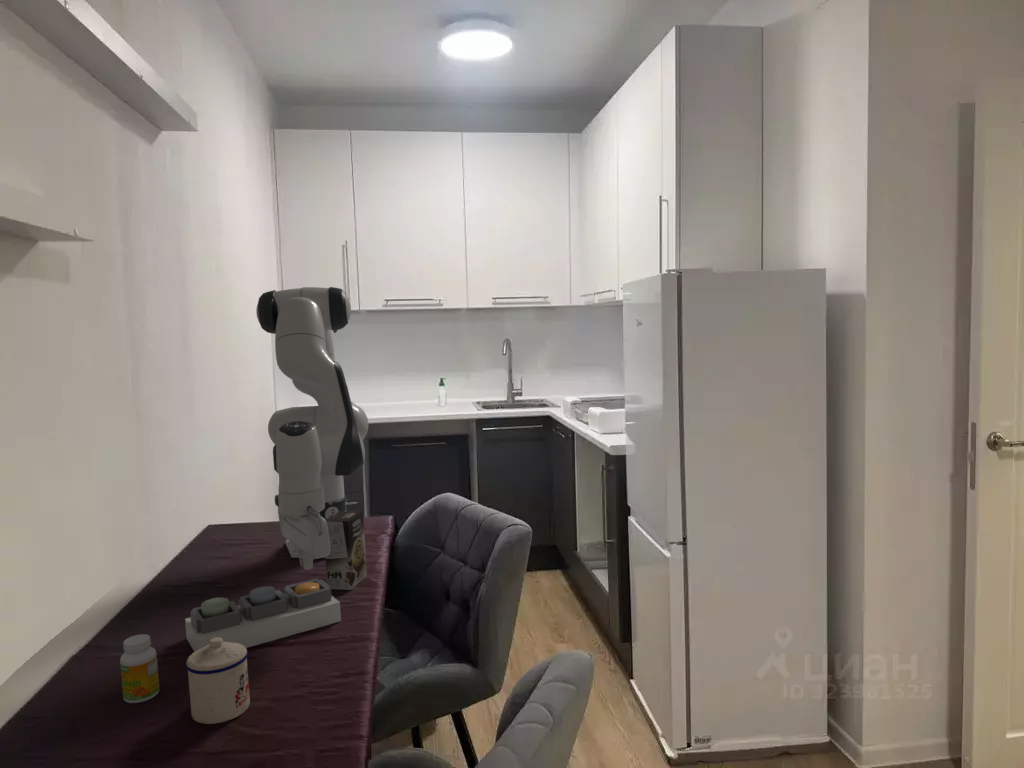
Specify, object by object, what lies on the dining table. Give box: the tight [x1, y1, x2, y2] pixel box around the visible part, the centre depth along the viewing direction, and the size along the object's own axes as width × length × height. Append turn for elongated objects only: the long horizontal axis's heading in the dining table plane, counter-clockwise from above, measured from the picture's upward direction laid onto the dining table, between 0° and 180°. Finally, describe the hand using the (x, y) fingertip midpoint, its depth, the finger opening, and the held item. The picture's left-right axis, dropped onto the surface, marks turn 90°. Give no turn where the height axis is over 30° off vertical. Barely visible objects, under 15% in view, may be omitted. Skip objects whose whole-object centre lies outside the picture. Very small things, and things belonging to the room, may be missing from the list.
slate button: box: [249, 586, 276, 605], centre depth 144 cm, size 5×5×2 cm
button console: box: [184, 578, 342, 653], centre depth 144 cm, size 12×27×6 cm, turn 125°
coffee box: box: [324, 510, 368, 591], centre depth 168 cm, size 9×6×16 cm
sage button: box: [200, 597, 229, 618], centre depth 139 cm, size 5×5×2 cm
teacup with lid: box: [185, 637, 251, 725], centre depth 116 cm, size 12×9×12 cm
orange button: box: [295, 582, 320, 595], centre depth 149 cm, size 5×5×2 cm
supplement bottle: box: [119, 633, 160, 704], centre depth 120 cm, size 5×5×10 cm
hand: (306, 567), depth 149 cm, fingers closed
